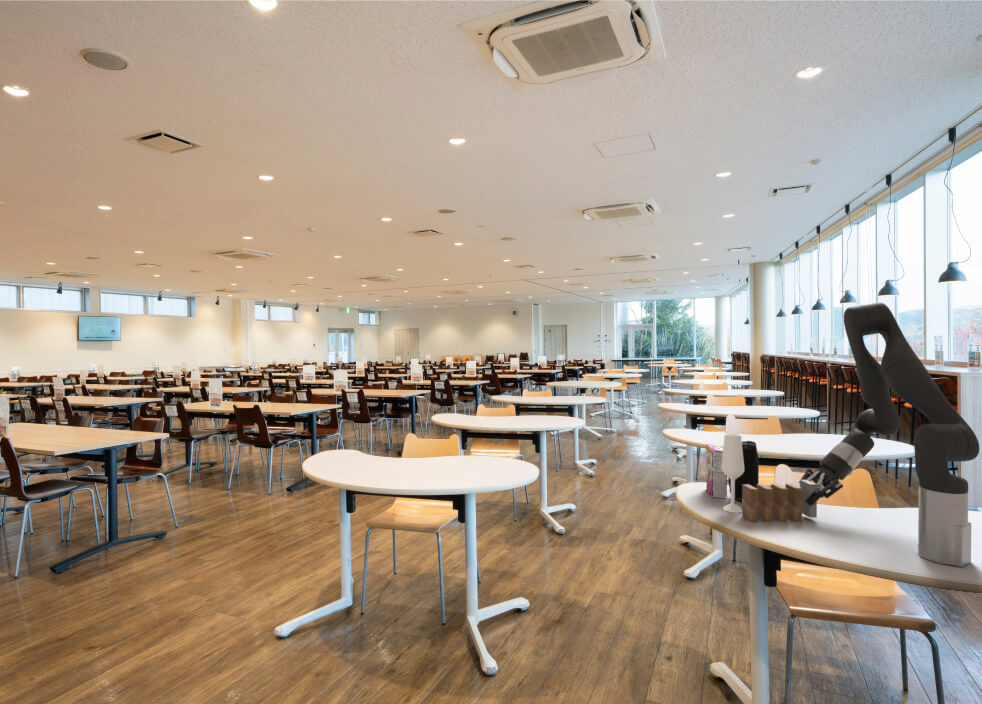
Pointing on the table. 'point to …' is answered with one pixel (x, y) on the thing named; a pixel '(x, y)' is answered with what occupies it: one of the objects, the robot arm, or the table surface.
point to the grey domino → (806, 492)
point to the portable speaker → (747, 469)
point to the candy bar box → (715, 471)
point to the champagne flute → (732, 465)
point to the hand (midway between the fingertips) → (802, 500)
